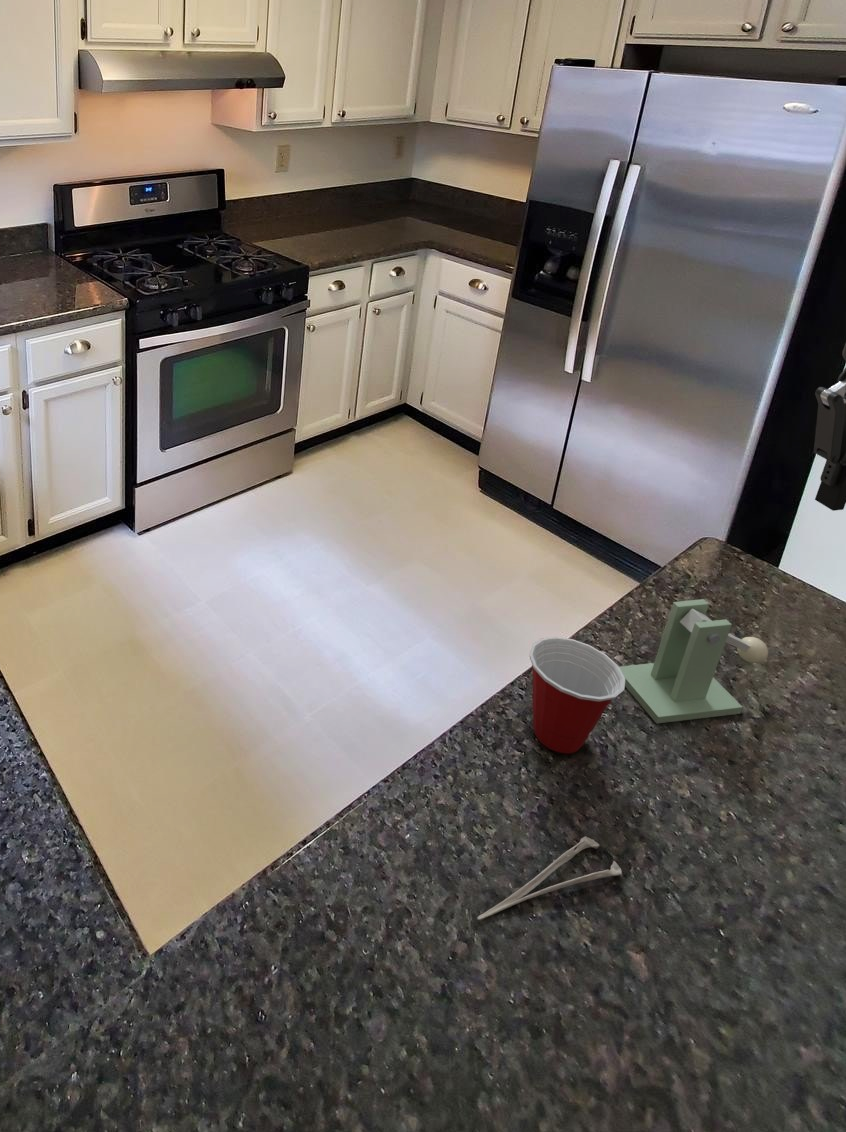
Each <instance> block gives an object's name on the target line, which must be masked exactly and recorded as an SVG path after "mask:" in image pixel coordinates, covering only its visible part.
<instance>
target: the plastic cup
mask: <svg viewBox="0 0 846 1132" xmlns="http://www.w3.org/2000/svg"><path fill="white" fill-rule="evenodd" d="M528 655H529V660H530V662H531V669H532V675H531V676H532V706H531V707H532V727H533V731H534V735H535V737H536V738H537V740H538V741H539V743H541V745H543V746H545V748H547V749H549V750H551V751H554V752H556V753H559V754H572V753H576V752H578V751H579V750H580V749H581V748H582V747H583V746H584V744H585V743H586V741H587V739H588V737H589V736H590V734H591V733H592V732H593V730H594V729H595V727H596V726H597V724H598V722H599V721H600V718H601V717H602V715H603V714H604V712H605V711H606V709H607V707H608V706H609V705H610V704H611V702H612V701H613V700H615V699H616V698H617V697H618V696H620V694H622V693H623V692H624V691H625V689H626V687H625V677H624V675H623V673H622V671H621V669H620V668H619V667H620V666H619V665H618V664H617V663H616V662H615V661H614V660H612V659H611V657H610V656H609V655H607V654H605V653H604V652H602V651H600V650H599V649H598V648H596V647H595V646H592V645H590V644H587V643H584V642H581V641H580V640H577V639H573V638H567V637H560V636H550V637H545V638H544V637H543V638H539V640H537V641H535V642H534V643H533V644H532V645H531V647H530V650H529V654H528Z"/></svg>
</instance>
